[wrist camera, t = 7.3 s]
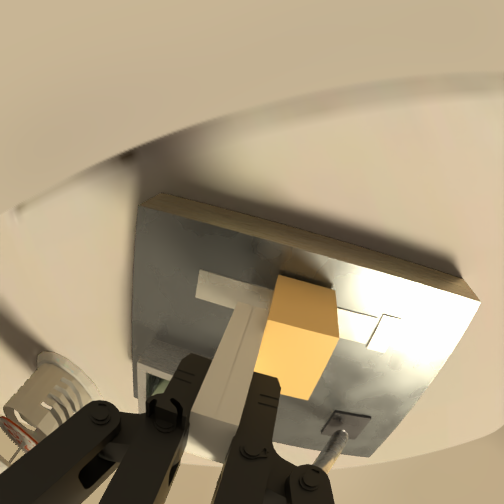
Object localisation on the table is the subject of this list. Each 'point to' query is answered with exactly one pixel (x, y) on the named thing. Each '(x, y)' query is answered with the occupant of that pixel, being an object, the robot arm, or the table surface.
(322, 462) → the toggle lever
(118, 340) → the table surface
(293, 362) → the yellow cube
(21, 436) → the french press
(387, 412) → the panel
